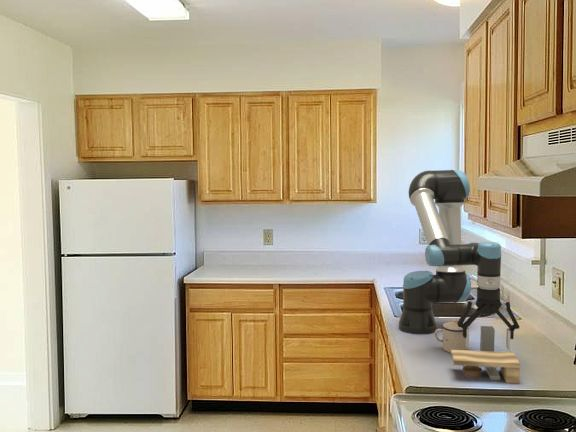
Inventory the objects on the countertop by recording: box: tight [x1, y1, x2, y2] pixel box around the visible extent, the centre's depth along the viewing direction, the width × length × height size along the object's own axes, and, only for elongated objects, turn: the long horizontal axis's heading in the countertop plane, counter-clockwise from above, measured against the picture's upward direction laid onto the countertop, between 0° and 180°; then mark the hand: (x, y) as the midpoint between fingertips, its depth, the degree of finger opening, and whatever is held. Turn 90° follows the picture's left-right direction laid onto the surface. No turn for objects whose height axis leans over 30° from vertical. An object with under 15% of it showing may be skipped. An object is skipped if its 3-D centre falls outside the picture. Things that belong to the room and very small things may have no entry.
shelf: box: [450, 349, 521, 384], centre depth 191 cm, size 10×20×6 cm, turn 80°
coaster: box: [462, 366, 483, 379], centre depth 193 cm, size 6×6×2 cm
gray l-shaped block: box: [479, 325, 501, 381], centre depth 196 cm, size 18×4×12 cm, turn 170°
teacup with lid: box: [433, 317, 468, 353], centre depth 215 cm, size 12×9×12 cm
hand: (487, 347), depth 202 cm, fingers open, 13 cm apart
